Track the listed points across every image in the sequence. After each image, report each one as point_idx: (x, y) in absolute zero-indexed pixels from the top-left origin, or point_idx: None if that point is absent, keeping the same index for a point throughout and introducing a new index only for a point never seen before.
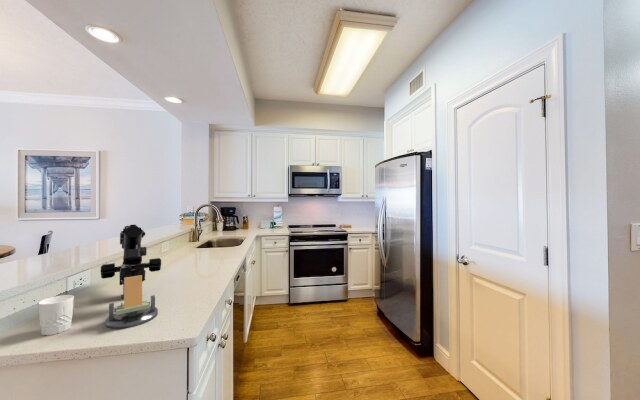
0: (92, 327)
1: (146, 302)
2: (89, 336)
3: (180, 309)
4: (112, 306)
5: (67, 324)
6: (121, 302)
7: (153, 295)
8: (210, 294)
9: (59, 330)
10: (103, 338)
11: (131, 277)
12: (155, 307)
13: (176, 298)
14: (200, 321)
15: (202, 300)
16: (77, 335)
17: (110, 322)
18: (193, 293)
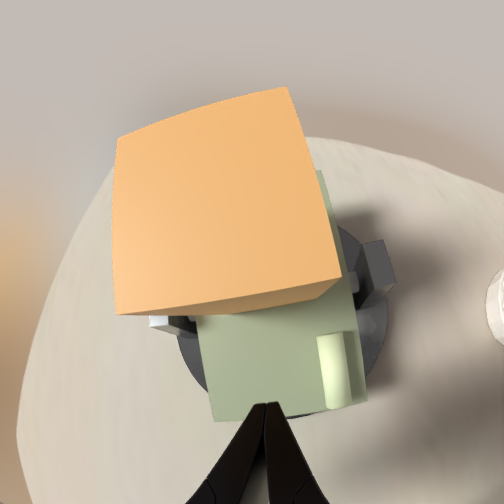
0: (417, 283)
1: (203, 315)
2: (391, 206)
3: (112, 312)
4: (365, 245)
5: (496, 289)
6: (346, 382)
7: (154, 323)
8: (36, 398)
9: (498, 273)
10: (339, 175)
11: (214, 106)
12: (184, 359)
13: (119, 456)
14: (102, 191)
15: (54, 357)
16: (434, 231)
17: (355, 258)
18: (72, 458)
